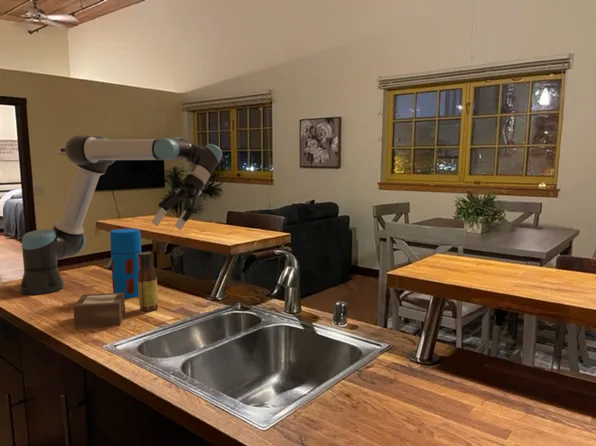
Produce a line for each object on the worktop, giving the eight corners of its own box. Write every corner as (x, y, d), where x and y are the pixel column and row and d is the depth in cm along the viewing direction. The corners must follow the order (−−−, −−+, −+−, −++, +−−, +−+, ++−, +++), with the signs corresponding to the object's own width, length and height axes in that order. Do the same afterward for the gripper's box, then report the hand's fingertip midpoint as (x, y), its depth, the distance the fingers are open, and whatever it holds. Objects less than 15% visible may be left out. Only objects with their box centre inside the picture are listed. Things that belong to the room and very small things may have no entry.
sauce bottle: (162, 307, 160) (160, 251, 157) (151, 312, 154) (149, 255, 152) (146, 305, 162) (144, 250, 159) (135, 310, 156) (132, 254, 154)
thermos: (147, 291, 180) (145, 228, 177) (135, 299, 169) (132, 233, 166) (121, 290, 181) (118, 228, 178) (107, 298, 170) (104, 232, 167)
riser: (83, 315, 151) (82, 294, 150) (125, 312, 154) (124, 292, 153) (74, 328, 139) (73, 306, 138) (119, 325, 142) (118, 303, 141)
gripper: (224, 187, 166) (194, 235, 157) (181, 184, 181) (152, 228, 172) (212, 174, 161) (181, 223, 152) (169, 172, 176) (138, 216, 167)
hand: (165, 226), depth 162 cm, fingers open, 13 cm apart
